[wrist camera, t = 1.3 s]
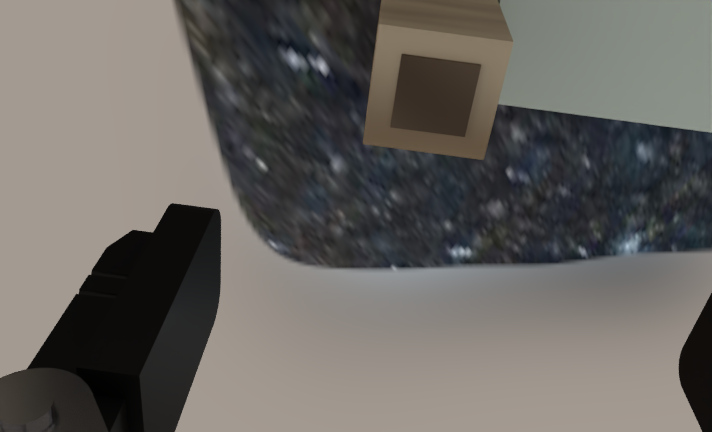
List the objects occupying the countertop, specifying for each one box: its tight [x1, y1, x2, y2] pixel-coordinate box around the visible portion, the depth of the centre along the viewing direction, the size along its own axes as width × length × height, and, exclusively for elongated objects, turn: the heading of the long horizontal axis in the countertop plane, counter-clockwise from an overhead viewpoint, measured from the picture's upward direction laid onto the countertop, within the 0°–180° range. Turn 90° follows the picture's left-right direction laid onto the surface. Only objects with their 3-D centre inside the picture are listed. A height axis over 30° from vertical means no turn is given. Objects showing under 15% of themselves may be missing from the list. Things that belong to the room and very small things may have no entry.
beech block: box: [363, 0, 514, 160], centre depth 25 cm, size 4×4×10 cm
